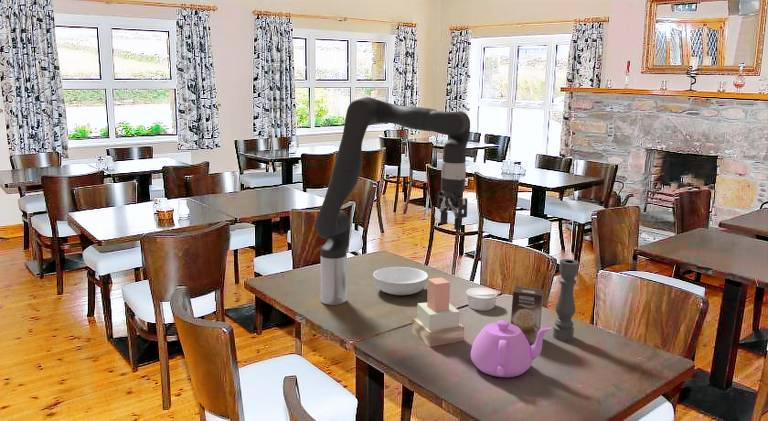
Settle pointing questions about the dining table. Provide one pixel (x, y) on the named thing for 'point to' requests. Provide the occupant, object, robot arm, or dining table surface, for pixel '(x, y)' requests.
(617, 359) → the dining table surface
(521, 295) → the coffee box
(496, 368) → the teapot
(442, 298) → the terracotta block
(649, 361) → the dining table surface
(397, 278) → the serving bowl
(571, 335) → the candle holder
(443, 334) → the tower base block
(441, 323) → the tower top block
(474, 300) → the ramekin
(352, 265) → the dining table surface
